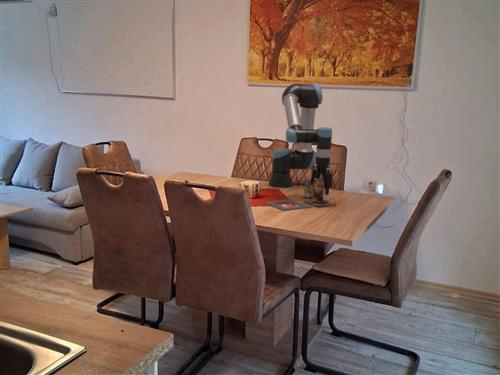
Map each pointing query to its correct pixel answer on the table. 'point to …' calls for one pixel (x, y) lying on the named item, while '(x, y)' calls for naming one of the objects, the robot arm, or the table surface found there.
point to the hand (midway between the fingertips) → (320, 198)
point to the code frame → (274, 204)
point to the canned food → (318, 190)
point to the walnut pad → (319, 204)
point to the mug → (308, 188)
